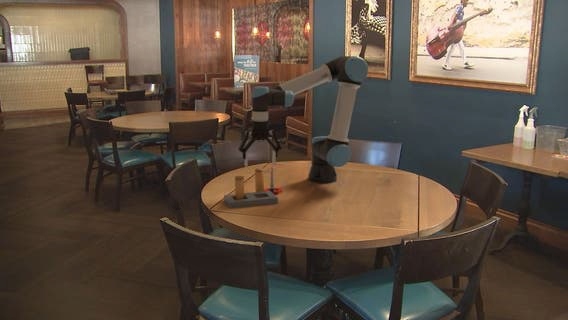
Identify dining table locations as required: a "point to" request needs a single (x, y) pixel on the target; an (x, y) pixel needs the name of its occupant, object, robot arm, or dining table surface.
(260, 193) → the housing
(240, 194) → the cylinder
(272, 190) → the tow hook
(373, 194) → the dining table surface
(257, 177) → the peg
